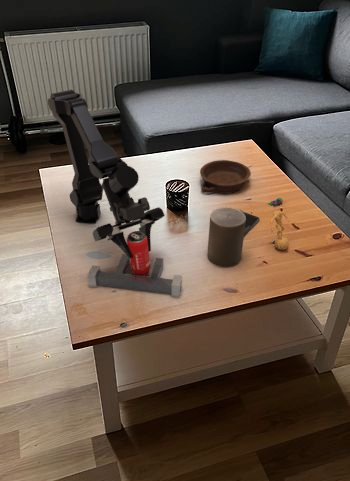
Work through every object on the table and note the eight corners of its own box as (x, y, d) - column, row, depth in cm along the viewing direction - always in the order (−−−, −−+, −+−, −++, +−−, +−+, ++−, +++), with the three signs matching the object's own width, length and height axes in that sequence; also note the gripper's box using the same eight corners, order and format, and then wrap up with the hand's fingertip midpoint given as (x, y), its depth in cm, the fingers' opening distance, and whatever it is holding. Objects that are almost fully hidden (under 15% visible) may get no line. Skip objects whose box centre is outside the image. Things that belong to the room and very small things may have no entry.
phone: (214, 232, 145) (239, 210, 154) (214, 235, 145) (238, 212, 155) (237, 241, 141) (261, 218, 151) (237, 244, 142) (260, 221, 151)
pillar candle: (231, 271, 131) (237, 227, 122) (200, 259, 135) (203, 215, 126) (247, 253, 138) (253, 209, 129) (217, 242, 142) (220, 199, 133)
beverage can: (142, 280, 127) (137, 245, 119) (127, 272, 130) (122, 238, 122) (154, 269, 130) (150, 234, 122) (140, 261, 133) (135, 227, 125)
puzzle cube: (276, 201, 161) (277, 195, 159) (282, 205, 159) (283, 199, 157) (266, 204, 159) (267, 198, 158) (271, 208, 157) (272, 202, 156)
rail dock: (89, 286, 126) (87, 275, 124) (101, 259, 135) (100, 248, 133) (179, 297, 123) (179, 286, 121) (185, 269, 132) (186, 258, 130)
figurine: (278, 257, 136) (284, 223, 129) (260, 248, 139) (265, 214, 132) (294, 245, 141) (301, 211, 134) (277, 236, 144) (282, 202, 137)
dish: (262, 180, 171) (264, 168, 168) (225, 205, 158) (226, 192, 155) (223, 164, 181) (224, 152, 178) (185, 187, 167) (185, 174, 164)
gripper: (93, 200, 114) (116, 262, 113) (161, 180, 122) (183, 237, 121) (83, 212, 124) (104, 268, 123) (146, 192, 132) (167, 245, 131)
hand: (140, 254), depth 124 cm, fingers closed on beverage can, 5 cm apart
